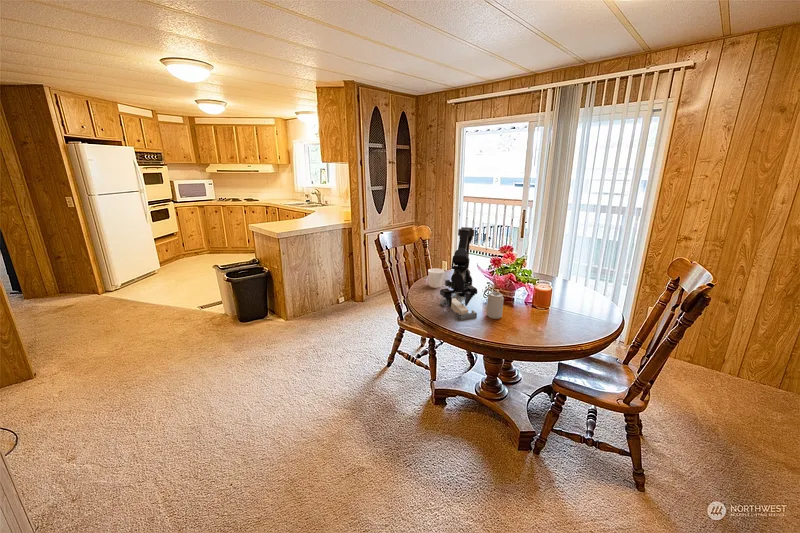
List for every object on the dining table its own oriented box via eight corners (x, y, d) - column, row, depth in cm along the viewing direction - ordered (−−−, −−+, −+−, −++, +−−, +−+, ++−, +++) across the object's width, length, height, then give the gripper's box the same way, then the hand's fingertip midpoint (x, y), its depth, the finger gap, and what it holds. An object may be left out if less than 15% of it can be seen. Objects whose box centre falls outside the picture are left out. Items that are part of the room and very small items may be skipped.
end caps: (456, 301, 184) (456, 297, 183) (476, 317, 164) (476, 313, 163) (440, 303, 181) (440, 299, 180) (459, 320, 161) (459, 315, 160)
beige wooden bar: (454, 304, 180) (455, 298, 179) (467, 317, 165) (468, 309, 164) (448, 305, 179) (448, 298, 178) (460, 317, 164) (460, 310, 163)
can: (502, 314, 168) (504, 292, 164) (501, 320, 161) (503, 297, 158) (487, 312, 170) (488, 290, 167) (485, 318, 163) (487, 295, 160)
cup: (425, 283, 213) (426, 268, 210) (440, 282, 215) (441, 268, 212) (430, 288, 204) (430, 273, 201) (445, 287, 205) (446, 272, 203)
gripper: (467, 272, 178) (466, 299, 182) (435, 275, 172) (434, 303, 176) (478, 278, 167) (476, 307, 172) (445, 282, 162) (444, 311, 166)
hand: (457, 307), depth 172 cm, fingers open, 9 cm apart
